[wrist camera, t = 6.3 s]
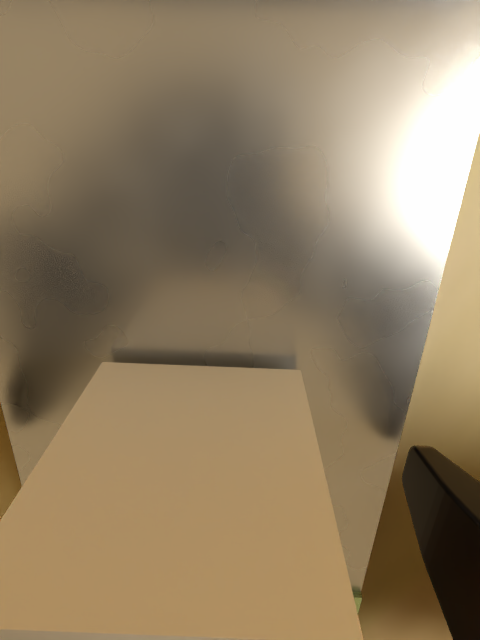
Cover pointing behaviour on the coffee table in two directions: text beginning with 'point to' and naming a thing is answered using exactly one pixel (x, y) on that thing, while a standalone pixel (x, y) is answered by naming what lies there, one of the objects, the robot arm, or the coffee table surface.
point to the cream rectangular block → (178, 515)
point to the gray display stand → (234, 206)
